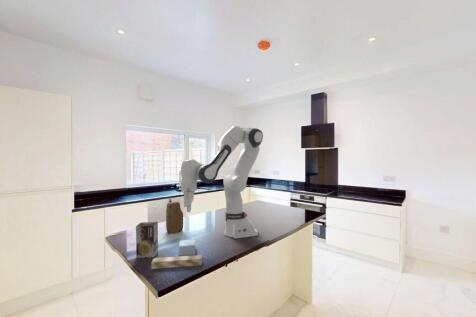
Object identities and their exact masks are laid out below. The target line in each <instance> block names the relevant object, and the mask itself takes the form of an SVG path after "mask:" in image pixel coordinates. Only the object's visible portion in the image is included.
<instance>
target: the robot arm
mask: <svg viewBox="0 0 476 317" xmlns="http://www.w3.org/2000/svg"><path fill="white" fill-rule="evenodd" d="M263 140H264V133H263V132H262V130H261V129H258V128H256V127H240V126H238V125H235V126H232V127H231V128H230V129H228V130H227V131H226V132H225V133H224V134H223V136H222V137H221V138H220V139H219V141H218V142H217V149H218V151H217V153H216V154H215V156H213V158H212V160H210V162H209V163H207V164H204V163H201V162H199V161H197V160H196V159H194V158H192V159H186V160H184V161H183V162H182V163H181V167H180V177H181V181H180V191H181V192H183V207H185V208H186V212H187V213H191V210H192V204H193V202H194V198H195V192H196V191H197V190H198V189H197V188H198V187H197V185H198V184H197V183H198V182H197V181H201V182H202V183H203V184H204V183H205V184H211V183H213V182H215V181H216V179H217V177H218V174H219V171H220V169H221V167H222V166H223V165H224V163H225V162H226V161H227V160H228V158H229V156H230V155H231V154H232V153H233V152H234V151H235V150H236V149H237V147H238V146H239V145H240V144H244V147H243V149H242V150H241V152H240V155H239V156H238V157H237V160H236V161H235V164H234V168H233V171H232V173H230V174H229V173H228V174H227V175H225V177H224V178H223V181H222V183H223V188H224V189H223V190H224V195H225V212H224V219H225V224H224V231H223V235H224V236H226V237H228V238H229V237H230V238H233V239H241V238H250V237H256V236H258V235H259V232H258V230H257V229H256V228H255V225H254V224H253V222H252V221H251V220H250V219H249V218H247V217H248V214H247V212H244V210H243V209H244V208H243V197H242V193H241V192H243V191H245V189H246V188H247V182H248V177H249V174H250V172H251V170H252V167H253V166H254V164H255V162H256V160H257V158H258V156H259V152H260V145H261V144H262V142H263Z"/></svg>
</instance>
